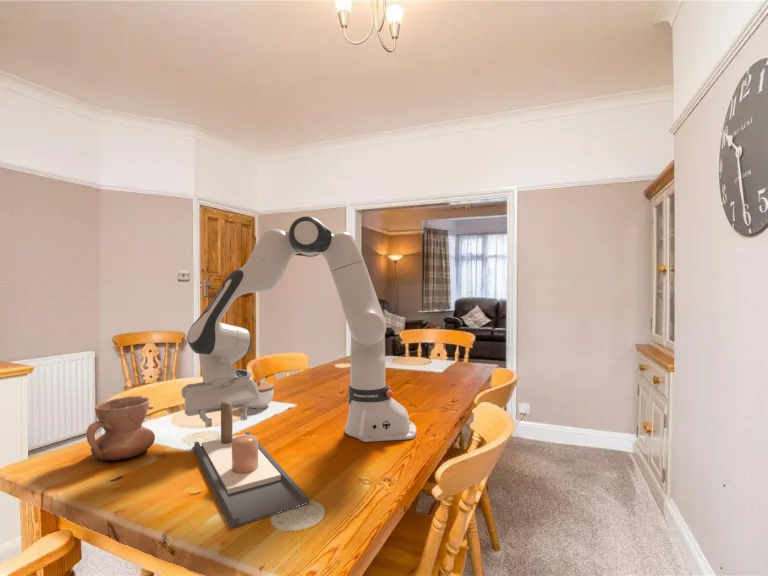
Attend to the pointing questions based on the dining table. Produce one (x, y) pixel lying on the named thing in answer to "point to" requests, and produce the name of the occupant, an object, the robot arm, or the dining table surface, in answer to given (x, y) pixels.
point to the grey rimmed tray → (253, 493)
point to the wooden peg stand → (222, 459)
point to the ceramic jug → (121, 428)
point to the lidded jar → (264, 394)
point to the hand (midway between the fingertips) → (227, 422)
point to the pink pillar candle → (244, 454)
